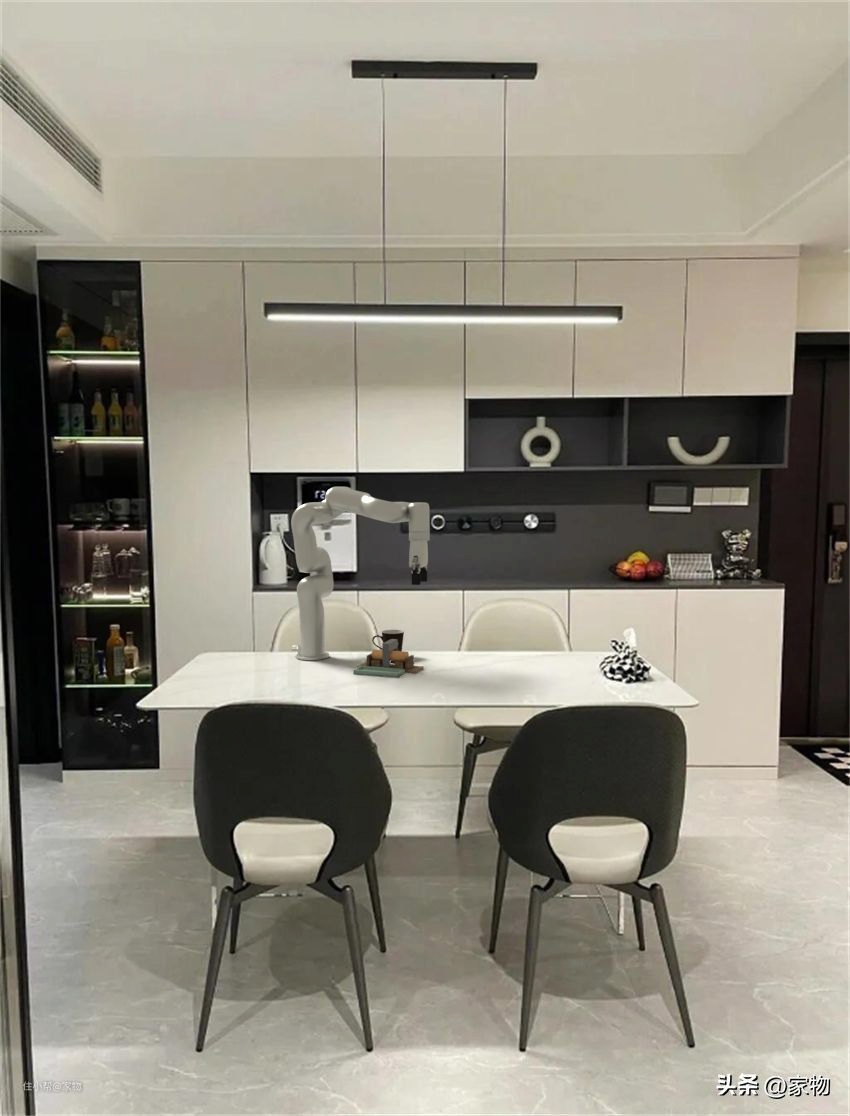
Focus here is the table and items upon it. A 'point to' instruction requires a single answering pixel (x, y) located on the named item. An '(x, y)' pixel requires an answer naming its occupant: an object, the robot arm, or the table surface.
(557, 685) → the table surface
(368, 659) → the block
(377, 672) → the felt tray
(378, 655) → the tan rounded-end block
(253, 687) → the table surface
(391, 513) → the robot arm
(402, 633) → the coffee mug
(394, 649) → the grey bracket
